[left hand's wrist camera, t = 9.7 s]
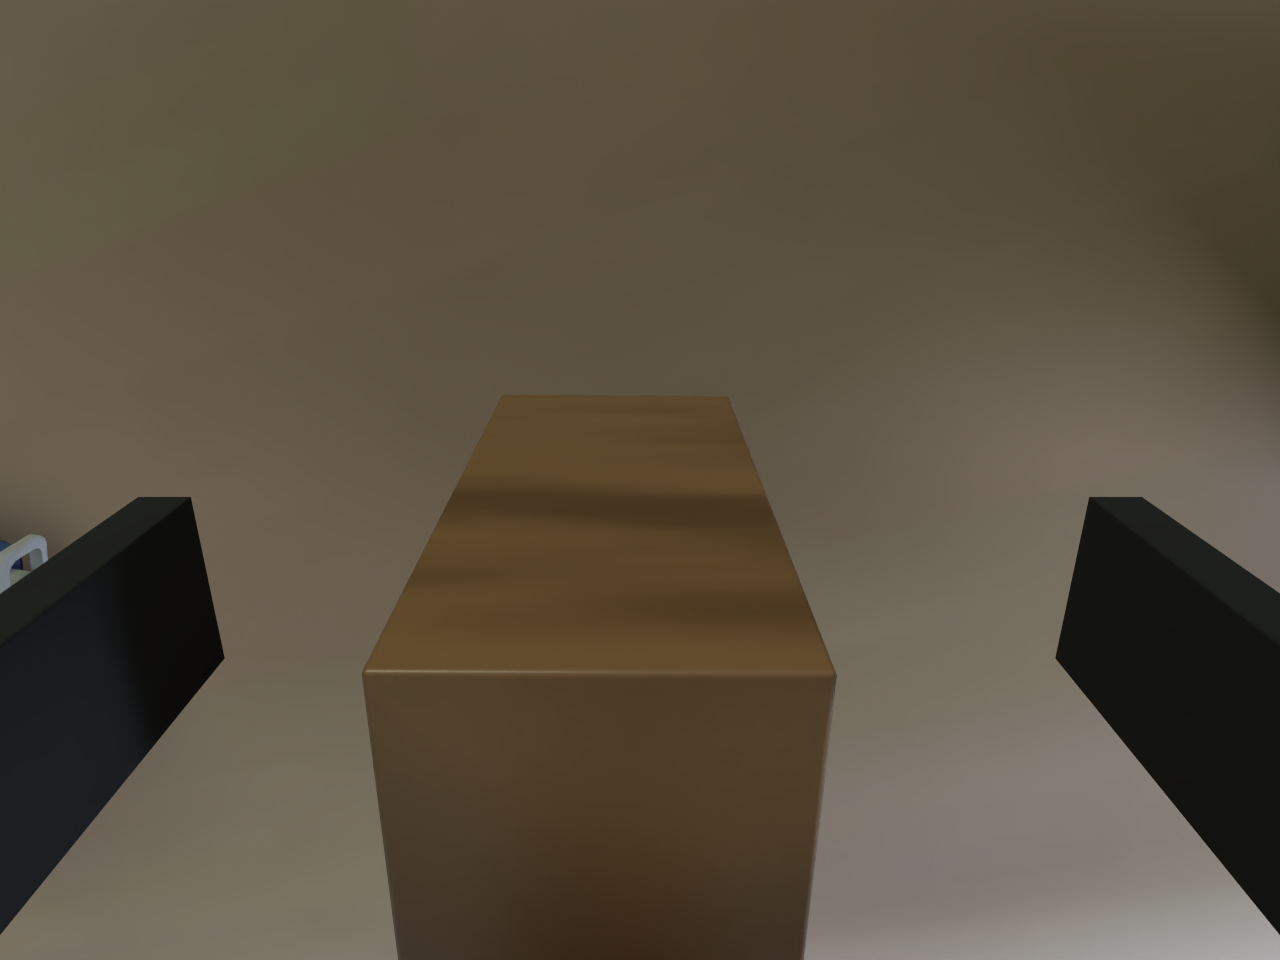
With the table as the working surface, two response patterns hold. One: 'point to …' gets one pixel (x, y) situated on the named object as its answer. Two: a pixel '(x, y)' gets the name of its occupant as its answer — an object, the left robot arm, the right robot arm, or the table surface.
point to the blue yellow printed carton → (5, 562)
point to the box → (602, 699)
